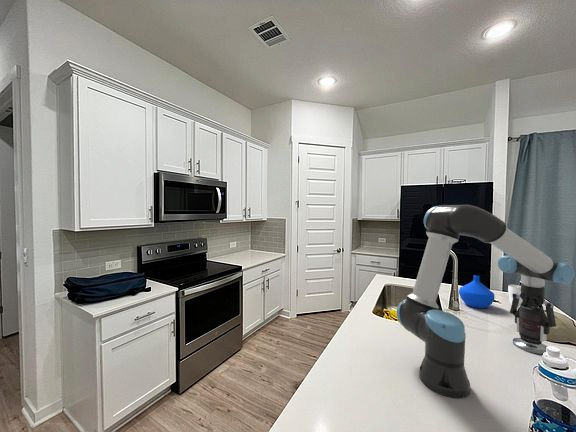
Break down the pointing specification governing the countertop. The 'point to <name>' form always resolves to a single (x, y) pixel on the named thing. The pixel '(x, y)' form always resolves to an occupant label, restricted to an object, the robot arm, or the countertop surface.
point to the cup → (512, 290)
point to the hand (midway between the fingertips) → (531, 335)
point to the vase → (476, 294)
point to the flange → (529, 346)
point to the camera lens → (530, 324)
